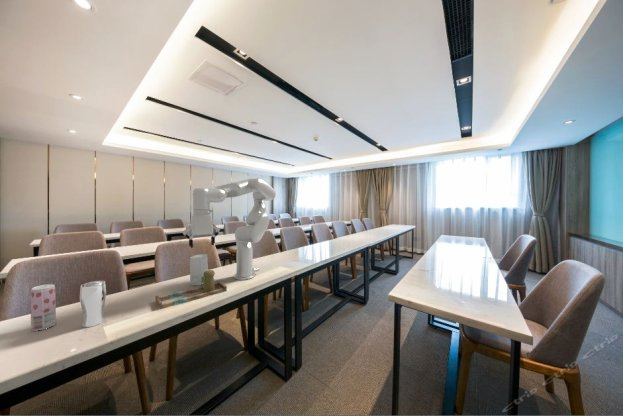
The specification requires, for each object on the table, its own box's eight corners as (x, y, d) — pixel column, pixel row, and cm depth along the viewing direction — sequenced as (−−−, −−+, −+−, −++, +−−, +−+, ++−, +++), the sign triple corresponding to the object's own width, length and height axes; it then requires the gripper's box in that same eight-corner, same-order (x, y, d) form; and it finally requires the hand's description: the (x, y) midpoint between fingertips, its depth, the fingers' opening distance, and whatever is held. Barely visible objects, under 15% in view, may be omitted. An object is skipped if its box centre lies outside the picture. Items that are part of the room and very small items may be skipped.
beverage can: (53, 321, 82) (53, 282, 82) (57, 325, 79) (57, 285, 79) (29, 328, 77) (28, 287, 77) (32, 333, 74) (32, 291, 74)
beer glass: (83, 330, 77) (82, 288, 76) (77, 324, 80) (77, 284, 80) (109, 321, 83) (108, 282, 82) (102, 316, 86) (102, 279, 86)
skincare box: (200, 285, 119) (200, 257, 119) (188, 285, 119) (188, 257, 119) (208, 280, 128) (208, 254, 127) (197, 279, 128) (197, 253, 127)
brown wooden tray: (218, 285, 120) (219, 281, 120) (226, 291, 112) (226, 286, 112) (155, 301, 100) (155, 296, 100) (159, 309, 92) (159, 303, 92)
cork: (200, 291, 111) (200, 270, 111) (212, 288, 116) (212, 268, 115) (205, 295, 107) (205, 273, 107) (217, 291, 111) (217, 270, 111)
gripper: (218, 211, 117) (218, 242, 118) (181, 213, 107) (182, 247, 108) (221, 212, 111) (222, 245, 112) (182, 213, 101) (183, 249, 102)
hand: (202, 246), depth 110 cm, fingers open, 9 cm apart
